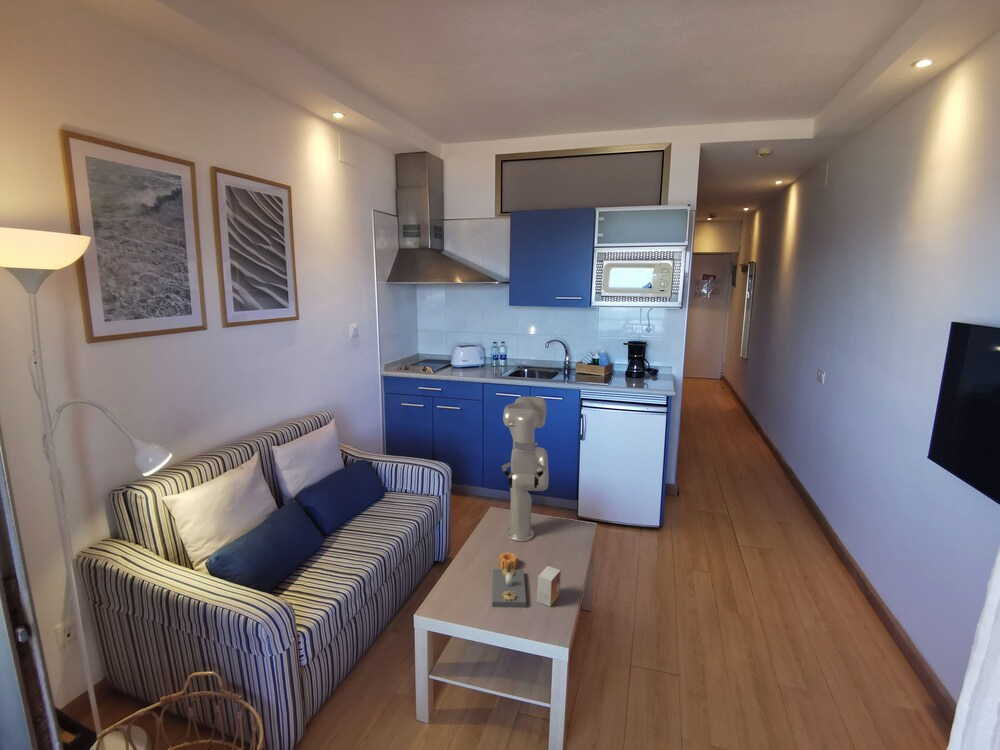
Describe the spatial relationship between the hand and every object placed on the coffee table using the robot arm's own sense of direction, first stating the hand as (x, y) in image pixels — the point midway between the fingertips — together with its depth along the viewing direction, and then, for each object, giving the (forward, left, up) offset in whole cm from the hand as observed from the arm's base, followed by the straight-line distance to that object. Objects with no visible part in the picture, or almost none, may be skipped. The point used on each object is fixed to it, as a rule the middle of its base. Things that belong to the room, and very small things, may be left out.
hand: (523, 486), depth 193 cm
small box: (+21, +9, -35) cm, 41 cm away
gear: (0, -5, -34) cm, 35 cm away
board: (+16, -5, -34) cm, 38 cm away
